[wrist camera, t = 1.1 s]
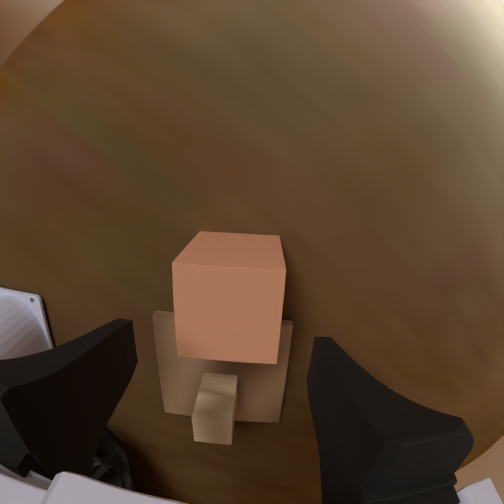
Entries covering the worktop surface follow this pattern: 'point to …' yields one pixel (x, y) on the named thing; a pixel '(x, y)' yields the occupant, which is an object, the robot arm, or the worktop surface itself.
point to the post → (215, 409)
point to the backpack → (111, 464)
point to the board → (192, 369)
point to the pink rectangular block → (229, 297)
